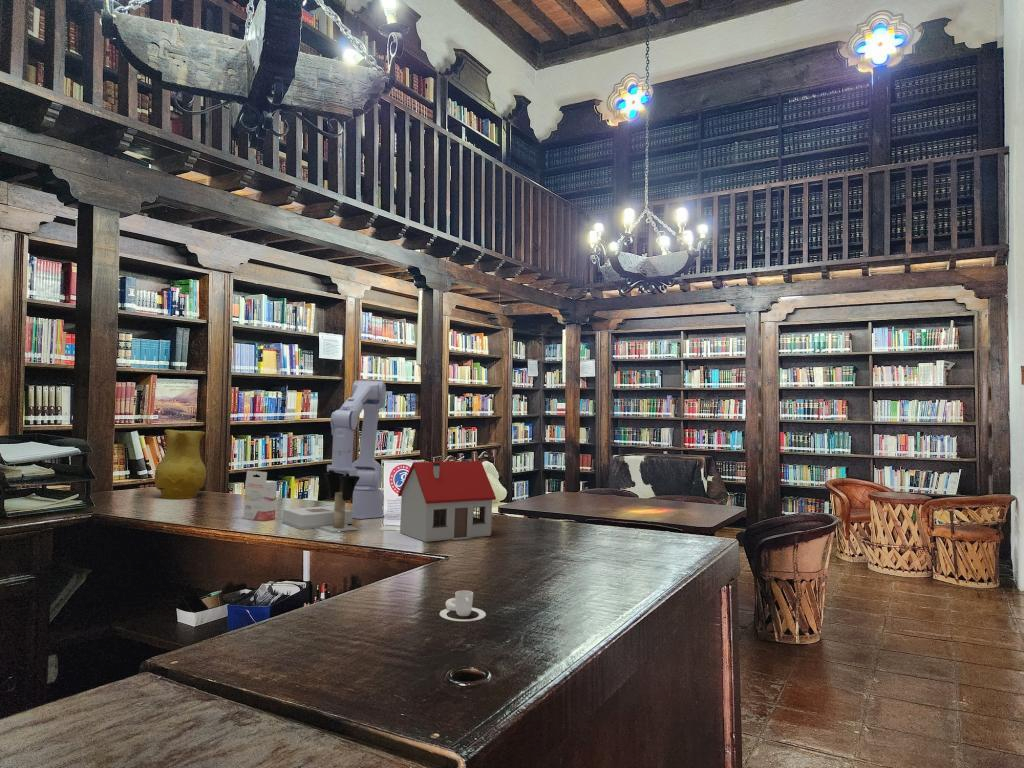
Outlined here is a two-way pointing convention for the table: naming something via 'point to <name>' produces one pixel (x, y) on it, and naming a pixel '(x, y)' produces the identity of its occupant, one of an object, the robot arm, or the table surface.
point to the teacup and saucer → (461, 606)
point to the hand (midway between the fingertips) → (340, 498)
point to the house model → (446, 501)
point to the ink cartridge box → (259, 497)
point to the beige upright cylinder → (339, 511)
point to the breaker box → (313, 517)
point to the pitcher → (181, 466)
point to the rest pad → (331, 529)
